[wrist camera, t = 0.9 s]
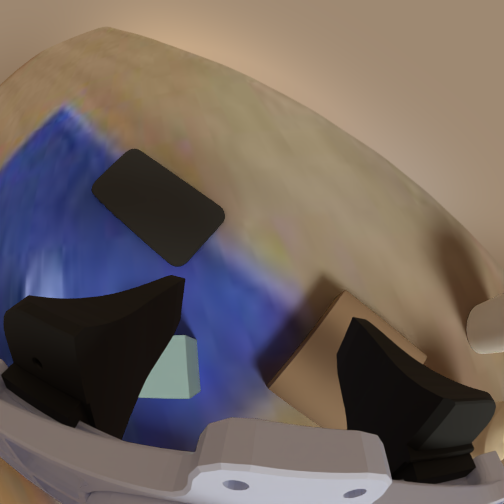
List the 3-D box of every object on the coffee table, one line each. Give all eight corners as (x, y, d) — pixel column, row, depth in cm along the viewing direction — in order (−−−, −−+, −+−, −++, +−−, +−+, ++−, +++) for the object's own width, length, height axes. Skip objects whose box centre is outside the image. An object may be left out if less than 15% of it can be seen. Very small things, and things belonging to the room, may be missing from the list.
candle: (427, 411, 21) (496, 421, 12) (466, 391, 22) (533, 390, 12) (430, 456, 19) (493, 478, 10) (468, 435, 20) (531, 444, 11)
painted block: (200, 391, 23) (189, 398, 18) (150, 391, 22) (129, 396, 18) (196, 339, 24) (184, 335, 19) (147, 341, 24) (125, 336, 19)
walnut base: (350, 444, 21) (362, 453, 18) (266, 385, 23) (268, 388, 20) (410, 358, 24) (427, 356, 21) (335, 297, 26) (345, 289, 23)
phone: (177, 271, 26) (87, 189, 29) (179, 273, 27) (90, 192, 30) (230, 212, 28) (133, 145, 31) (230, 216, 29) (135, 149, 32)
